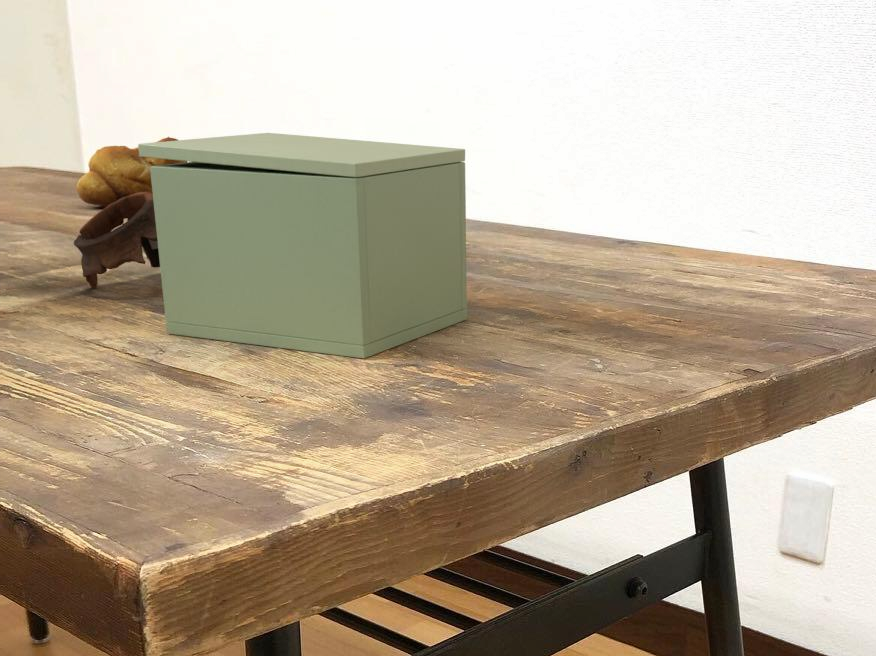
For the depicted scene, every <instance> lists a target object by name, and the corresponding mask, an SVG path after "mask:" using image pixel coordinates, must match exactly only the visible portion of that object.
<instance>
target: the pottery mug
mask: <svg viewBox="0 0 876 656" xmlns="http://www.w3.org/2000/svg"><path fill="white" fill-rule="evenodd" d="M125 219H127V221H124V220H125ZM73 246H75V247H76V248H77V249H78V250H79V252H80V253H81V260H80V261H81V270H82V277H83V278H85V282H87V283H88V284H89V286H90V288H93V289H96V288H97V287H98V281H99V280H98V275H103V274H105V273H107V271H108V270H114V269H118V268H119V267H121V266H122V265H124V264H127V263H131V262H134V263H138V264H142V265H145V264H146V262H147V261H146V260H145V259H144V254H145V256H146V258H147V260H148V261H149V263H150V267H151V268H154V269H156V268H160V260H159V250H158V240H157V230H156V221H155V211H154V201H153V194H152V193H149V192H139V193H135V194H132V195H130V196H127V197H123V198H121V199H119V200H117V201H116V202H113V203H111V204H109V205H108V206H104V208H103V209H101V210H100V211H98V212H97V213H96V214H95V215H93V217H91V218H90V219H89V220H87V221H86V223H85V224H84V225H83V226H81V228H80V229H79V234H78V235H77V236H76V239H74V241H73ZM143 251H144V254H143Z"/></svg>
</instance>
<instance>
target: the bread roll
mask: <svg viewBox="0 0 876 656" xmlns="http://www.w3.org/2000/svg"><path fill="white" fill-rule="evenodd" d="M177 140H179V139H178V138H175V137H170V136H167V137H164V138H161V139H159V140H157V141H156V142H166V141H177ZM185 162H188V161H179V160H169V159H158V158H148V157H140V156H139V148H138V146H137V147H134V148H130V147H128V146H126V145H108V146H107V145H106V146H103V147H101V148H100V149H97V150H95V153H93V155H92V156H91V157H90V159H89V161H88V168H89V170H88V172H86V173H85V174H84V175H82V176H81V177H80V178H79V179H78V181H77V184H76V193H77V195H78V197H79V198H80V200H82V201H83V202H84V203H86V204H88V205H94V206H99V207H100V206H101V207H107V206H108V205H109V204H111V203H113V202H116V201H117V200H119V199H121V198H123V197H127V196H130V195H132V194H135V193H139V192H149V193H152V194H153V191H152V181H151V172H150V167H151V166H158V165H167V164H176V163H185Z"/></svg>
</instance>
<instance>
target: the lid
mask: <svg viewBox="0 0 876 656" xmlns="http://www.w3.org/2000/svg"><path fill="white" fill-rule="evenodd" d="M137 147H138V148H139V156H140V157H148V158H158V159H169V160H179V161H187V162H200V163H210V164H221V165H231V166H241V167H252V168H262V169H273V170H283V171H293V172H304V173H314V174H325V175H335V176H345V177H363V176H369V175H376V174H383V173H389V172H396V171H403V170H409V169H416V168H423V167H429V166H436V165H443V164H449V163H456V162H465V161H466V149H465V148H456V147H446V146H432V145H422V144H421V145H420V144H408V143H397V142H396V143H395V142H386V141H385V142H383V141H374V140H373V141H371V140H359V139H347V138H337V137H324V136H310V135H301V134H300V135H299V134H288V133H275V132H261V133H259V132H258V133H248V134H238V135H237V134H236V135H225V136H215V137H213V136H212V137H202V138H191V139H178V140H177V141H166V142H157V141H154V142H143V143H138V145H137Z"/></svg>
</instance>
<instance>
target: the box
mask: <svg viewBox="0 0 876 656" xmlns="http://www.w3.org/2000/svg"><path fill="white" fill-rule="evenodd" d="M150 172H151V181H152V191H153V201H154V211H155V221H156V230H157V240H158V250H159V260H160V267H159V269H160V277H161V288H162V296H163V309H164V318H165V328H166V334H167V335H175V336H182V337H192V338H200V339H207V340H216V341H223V342H230V343H231V342H232V343H237V344H238V343H239V344H245V345H254V346H255V345H256V346H261V347H270V348H279V349H284V350H285V349H286V350H294V351H301V352H310V353H317V354H325V355H333V356H341V357H350V358H357V359H367V358H369V357H371V356H374V355H377V354H380V353H382V352H385V351H388V350H390V349H392V348H393V349H394V348H395V347H398V346H400V345H403V344H406V343H408V342H411V341H413V340H417V339H419V338H422V337H425V336H427V335H429V334H432V333H435V332H438V331H440V330H443V329H446V328H449V327H450V326H453V325H456V324H459V323H462V322H464V321H467V320H468V304H467V303H468V297H467V296H468V292H467V291H468V290H467V289H468V287H467V284H468V282H467V279H468V278H467V208H466V207H467V206H466V205H467V204H466V203H467V200H466V162H465V161H462V162H456V163H449V164H443V165H436V166H429V167H423V168H416V169H409V170H403V171H396V172H389V173H383V174H376V175H369V176H363V177H345V176H335V175H325V174H314V173H304V172H293V171H283V170H273V169H262V168H252V167H241V166H231V165H221V164H210V163H200V162H189V161H187V162H185V163H176V164H167V165H158V166H151V167H150Z"/></svg>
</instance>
